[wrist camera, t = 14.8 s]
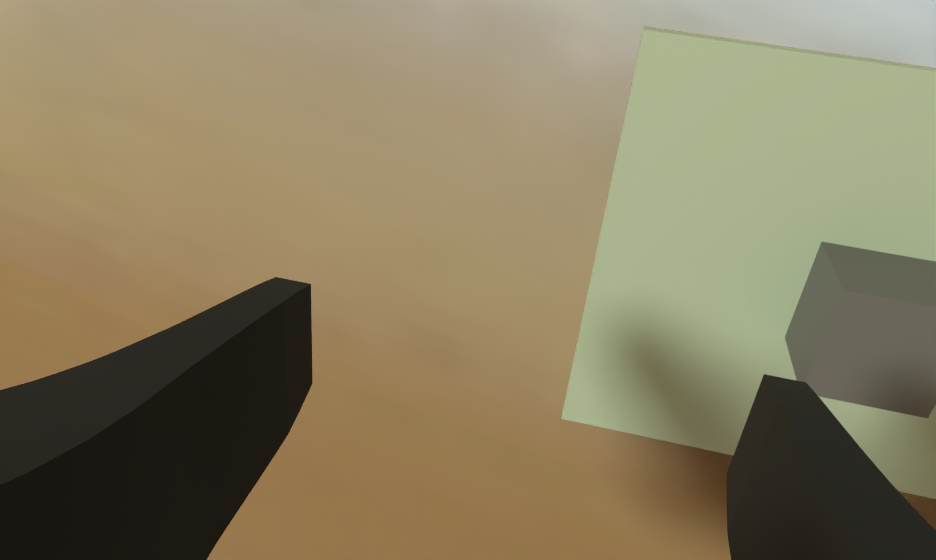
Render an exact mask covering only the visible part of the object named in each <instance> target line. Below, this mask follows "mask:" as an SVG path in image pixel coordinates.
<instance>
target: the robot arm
mask: <svg viewBox="0 0 936 560" xmlns="http://www.w3.org/2000/svg"><path fill="white" fill-rule="evenodd" d="M311 385H312V332H311V284H308V283H303V282H298V281H293V280H288V279H283V278H277V277H275V278H273V279H270V280H268V281H265V282H263V283H261V284H259V285H257V286H254V287H252V288H250V289H248V290H246V291H244V292H242V293H240V294H238V295H236V296H234V297H232V298H230V299H228V300H226V301H224V302H222V303H220V304H218V305H216V306H214V307H212V308H210V309H208V310H206V311H204V312H201V313H199V314H197V315H195V316H193V317H191V318H189V319H187V320H185V321H183V322H181V323H179V324H177V325H175V326H173V327H170V328H168V329H166V330H164V331H161V332H159V333H157V334H154V335H152V336H150V337H148V338H145V339H143V340H141V341H138V342H136V343H134V344H132V345H129V346H127V347H125V348H122V349H120V350H118V351H116V352H113V353H111V354H108V355H106V356H103V357H101V358H98V359H95V360H93V361H90V362H87V363H85V364H82V365H79V366H76V367H73V368H71V369H68V370H65V371H62V372H59V373H56V374H53V375H50V376H47V377H44V378H41V379H38V380H35V381H32V382H28V383H25V384H21V385H18V386H14V387H10V388H7V389H3V390H0V560H206V559H207V558H208V556H209V554H210V553H211V551H212V549H213V548H214V546H215V544H216V543H217V541H218V540H219V538H220V537H221V535H222V534H223V532H224V531H225V529H226V528H227V526H228V525H229V523H230V522H231V520H232V519H233V517H234V516H235V514H236V513H237V511H238V510H239V508H240V507H241V505H242V504H243V502H244V501H245V499H246V498H247V496H248V495H249V493H250V492H251V490H252V489H253V487H254V486H255V484H256V483H257V481H258V480H259V478H260V477H261V475H262V474H263V472H264V470H265V469H266V467H267V466H268V464H269V463H270V461H271V460H272V458H273V457H274V455H275V454H276V452H277V451H278V449H279V447H280V446H281V444H282V443H283V441H284V440H285V438H286V437H287V435H288V433H289V431H290V429H291V427H292V425H293V423H294V421H295V419H296V417H297V415H298V413H299V411H300V409H301V407H302V405H303V402H304V400H305V398H306V396H307V394H308V392H309V389H310V387H311ZM727 528H728V540H729V547H730V554H731V560H936V531H935V530H934V529H933V528H932V527H931V526H930V525H929V524H928V523H927V522H926V520H925V519H924V518H923V517H922V516H921V515H920V514H919V513H918V512H917V511H916V510H915V509H914V508H913V507H912V506H911V505H910V504H909V503H908V501H907V500H906V499H905V498H904V497H903V496H902V495H901V494H900V493H899V492H898V490H897V489H896V488H895V487H894V486H893V485H892V484H891V483H890V481H889V480H888V479H887V478H886V477H885V476H884V475H883V473H882V472H881V471H880V470H879V469H878V468H877V466H876V465H875V464H874V463H873V462H872V461H871V459H870V458H869V457H868V456H867V455H866V454H865V452H864V451H863V450H862V449H861V448H860V446H859V445H858V444H857V443H856V442H855V440H854V439H853V438H852V437H851V435H850V434H849V433H848V432H847V431H846V429H845V428H844V427H843V426H842V425H841V423H840V422H839V421H838V420H837V418H836V417H835V416H834V415H833V414H832V412H831V411H830V410H829V409H828V407H827V406H826V405H825V404H824V403H823V401H822V400H821V399H820V398H819V397H818V395H817V394H816V393H815V392H814V391H813V390H812V388H811V387H810V386H809V385H808V384H807V383H806V382H801V381H796V380H791V379H786V378H781V377H776V376H771V375H766V374H764V375H763V378H762V380H761V383H760V386H759V389H758V391H757V394H756V397H755V399H754V402H753V405H752V407H751V410H750V413H749V415H748V418H747V421H746V423H745V426H744V429H743V431H742V434H741V437H740V440H739V442H738V445H737V448H736V450H735V453H734V456H733V458H732V461H731V464H730V466H729V469H728V472H727Z"/></svg>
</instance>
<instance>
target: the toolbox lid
mask: <svg viewBox="0 0 936 560" xmlns="http://www.w3.org/2000/svg"><path fill="white" fill-rule="evenodd" d="M764 374H766V375H771V376H776V377H781V378H786V379H791V380H796V381H801V382H806V383H807V384H808V385H809V386H810V387H811V388H812V390H813V391H814V392H815V393H816V394H817V395H818V397H819V398H820V399H821V400H822V401H823V403H824V404H825V405H826V406H827V407H828V409H829V410H830V411H831V412H832V414H833V415H834V416H835V417H836V418H837V420H838V421H839V422H840V423H841V425H842V426H843V427H844V428H845V429H846V431H847V432H848V433H849V434H850V435H851V437H852V438H853V439H854V440H855V442H856V443H857V444H858V445H859V446H860V448H861V449H862V450H863V451H864V452H865V454H866V455H867V456H868V457H869V458H870V459H871V461H872V462H873V463H874V464H875V465H876V466H877V468H878V469H879V470H880V471H881V472H882V473H883V475H884V476H885V477H886V478H887V479H888V480H889V481H890V483H891V484H892V485H893V486H894V487H895V488H896V489H897V490H898V491H899V492H904V493H909V494H913V495H918V496H923V497H927V498H932V499H936V68H931V67H924V66H917V65H910V64H903V63H896V62H889V61H882V60H875V59H868V58H861V57H854V56H847V55H840V54H833V53H826V52H819V51H812V50H805V49H799V48H792V47H785V46H778V45H771V44H764V43H757V42H750V41H743V40H736V39H729V38H722V37H715V36H708V35H701V34H694V33H687V32H680V31H673V30H666V29H659V28H652V27H645V26H644V27H643V32H642V37H641V42H640V46H639V51H638V56H637V61H636V65H635V70H634V75H633V80H632V84H631V89H630V94H629V98H628V103H627V108H626V113H625V117H624V122H623V127H622V132H621V136H620V141H619V146H618V151H617V155H616V160H615V165H614V170H613V174H612V179H611V184H610V189H609V193H608V198H607V203H606V207H605V212H604V217H603V222H602V226H601V231H600V236H599V241H598V245H597V250H596V255H595V260H594V264H593V269H592V274H591V279H590V283H589V288H588V293H587V298H586V302H585V307H584V312H583V316H582V321H581V326H580V331H579V335H578V340H577V345H576V350H575V354H574V359H573V364H572V369H571V373H570V378H569V383H568V388H567V392H566V397H565V402H564V407H563V411H562V418H561V419H565V420H570V421H575V422H579V423H584V424H589V425H593V426H598V427H603V428H607V429H612V430H616V431H621V432H626V433H630V434H635V435H640V436H644V437H649V438H654V439H658V440H663V441H667V442H672V443H677V444H681V445H686V446H691V447H695V448H700V449H705V450H709V451H714V452H719V453H723V454H728V455H732V456H734V453H735V450H736V448H737V445H738V442H739V440H740V437H741V434H742V431H743V429H744V426H745V423H746V421H747V418H748V415H749V413H750V410H751V407H752V405H753V402H754V399H755V397H756V394H757V391H758V389H759V386H760V383H761V380H762V378H763V375H764Z"/></svg>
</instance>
